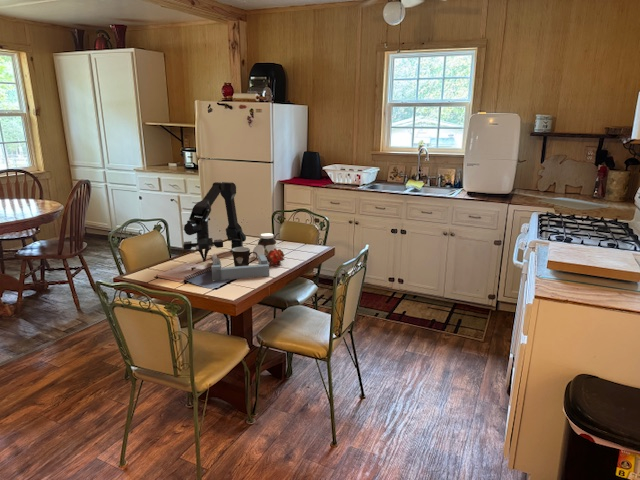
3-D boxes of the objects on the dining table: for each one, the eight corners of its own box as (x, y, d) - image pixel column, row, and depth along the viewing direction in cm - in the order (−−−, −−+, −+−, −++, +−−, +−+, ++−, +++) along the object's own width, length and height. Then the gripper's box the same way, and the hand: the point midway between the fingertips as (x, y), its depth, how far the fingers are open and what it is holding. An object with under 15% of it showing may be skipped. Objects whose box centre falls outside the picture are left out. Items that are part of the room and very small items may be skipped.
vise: (210, 271, 216) (210, 258, 214) (264, 267, 223) (264, 254, 221) (212, 281, 203) (211, 267, 201) (269, 276, 210) (269, 262, 208)
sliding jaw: (211, 261, 231) (210, 249, 229) (218, 261, 231) (217, 249, 230) (214, 277, 207) (213, 263, 205) (221, 276, 208) (221, 263, 206)
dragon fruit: (283, 263, 233) (271, 273, 224) (271, 253, 235) (258, 262, 225) (290, 252, 229) (278, 262, 219) (278, 242, 230) (265, 251, 220)
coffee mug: (229, 269, 218) (228, 249, 216) (240, 265, 226) (239, 245, 223) (248, 273, 213) (247, 253, 210) (259, 268, 220) (258, 249, 218)
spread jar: (278, 253, 246) (277, 233, 243) (273, 259, 235) (273, 238, 232) (256, 253, 247) (255, 232, 244) (251, 259, 236) (250, 237, 233)
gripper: (182, 235, 208) (184, 267, 212) (223, 233, 213) (224, 264, 217) (182, 230, 218) (184, 261, 222) (221, 228, 223) (223, 258, 227)
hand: (204, 261), depth 222 cm, fingers closed
